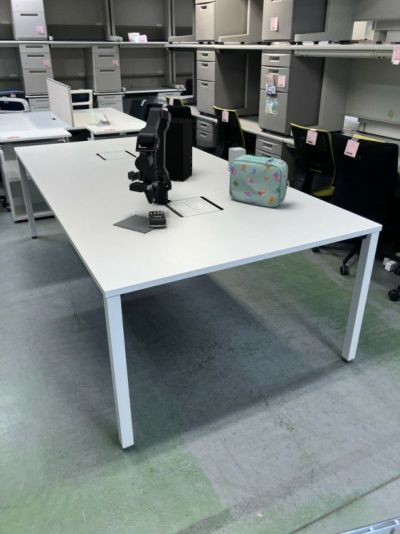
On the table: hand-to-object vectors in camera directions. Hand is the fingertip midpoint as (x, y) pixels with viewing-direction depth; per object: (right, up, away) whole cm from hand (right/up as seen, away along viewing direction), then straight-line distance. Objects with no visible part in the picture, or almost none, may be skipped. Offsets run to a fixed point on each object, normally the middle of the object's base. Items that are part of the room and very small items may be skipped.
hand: (150, 203), depth 177 cm
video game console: (+7, +23, +61) cm, 65 cm away
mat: (-4, -9, -3) cm, 10 cm away
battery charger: (+2, -4, +2) cm, 5 cm away
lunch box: (+47, +4, +24) cm, 52 cm away
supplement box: (+41, +30, +76) cm, 91 cm away
